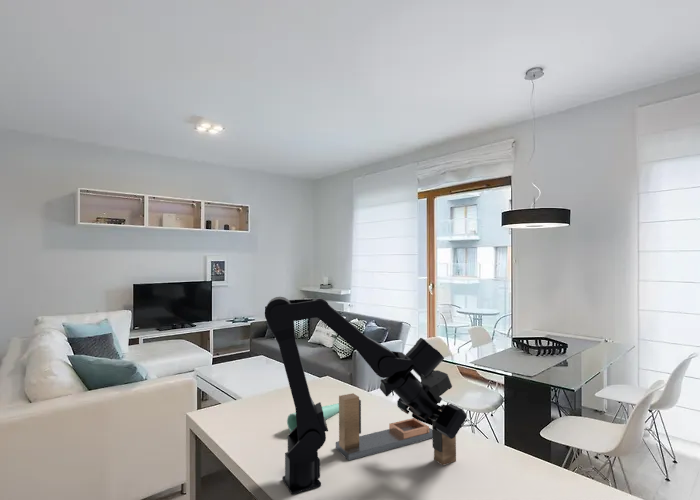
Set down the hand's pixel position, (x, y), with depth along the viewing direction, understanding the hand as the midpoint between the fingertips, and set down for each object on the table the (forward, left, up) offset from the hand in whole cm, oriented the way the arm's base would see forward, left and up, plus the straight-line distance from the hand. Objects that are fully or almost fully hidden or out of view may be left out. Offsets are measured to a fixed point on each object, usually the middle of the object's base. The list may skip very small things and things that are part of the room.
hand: (449, 430), depth 92 cm
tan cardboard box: (-1, 0, -7) cm, 7 cm away
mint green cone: (-16, +36, -7) cm, 40 cm away
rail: (-8, +14, -7) cm, 18 cm away
